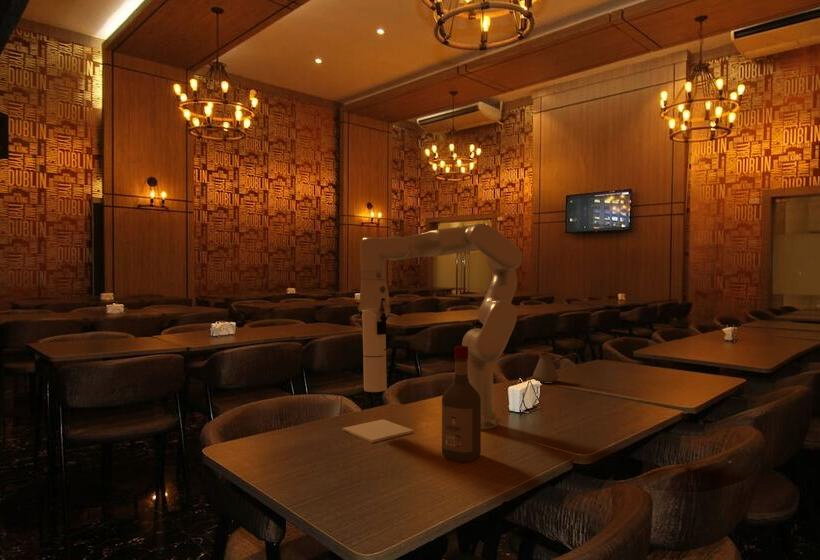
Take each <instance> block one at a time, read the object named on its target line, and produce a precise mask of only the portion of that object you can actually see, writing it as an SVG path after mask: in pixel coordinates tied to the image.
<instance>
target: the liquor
mask: <svg viewBox="0 0 820 560" xmlns="http://www.w3.org/2000/svg"><path fill="white" fill-rule="evenodd" d="M467 359H468V347H467V346H462V345H455V346H454V378H453V382H452V383H451V384H450V386H449V387H448V388H447V389H446V390H445V391H444V393H443V395H442V397H441V453H442V456H443V458H444V459H445V460H447V461H452V462H456V463H461V464H464V463H465V464H467V463H472V462H474V461H475V460H476V459H479V457H480V456H481V454H482V453H481V451H482V449H481V446H482V443H481V442H482V441H481V440H482V439H481V438H482V436H481V435H482V434H481V431H482V430H481V398H480V395H479V393H478V392H477V391H476V390H475V389H474V388H473V386H472V385H471V384H470V383H469V379H468V360H467Z"/></svg>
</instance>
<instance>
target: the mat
mask: <svg viewBox="0 0 820 560" xmlns="http://www.w3.org/2000/svg"><path fill="white" fill-rule="evenodd" d="M342 430H343V432H345V431H346V432H345V433H347V432H348V433H347V434H349V433H350V434H349V435H351V436H355V437H357V438H359V439H361V440H363V441H366V442H367V443H368V442H369V443H371V444H373V443H378V442H382V441H385V440H389V439H393V438H397V437H401V436H407V435H408V434H409V435H410V434H413V433H415V432H414V429H412V428H408V427H406V426H404V425H400V424H398V423H395V422H392V421H389V420H386V419H383V418H382V419H379V420H374V421H369V422H365V423H359V424H355V425H350V426H345V427H342Z"/></svg>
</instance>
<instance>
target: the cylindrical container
mask: <svg viewBox="0 0 820 560" xmlns="http://www.w3.org/2000/svg"><path fill="white" fill-rule="evenodd" d="M379 311H383V310H379ZM380 316H382V314H380ZM362 320H363V332H362V352H363V353H362V354H363V360H362V361H363V365H362V366H363V390H364V391H365V392H366V393H367V392H368V393H378V392H384V391H387V389H388V388H387V387H388V382H387V350H386V349H387V337H386V336H387V333H386V334H382V335H378V334H377V322H379V321H378V319H377V314H376V313H374V311H368V310H362ZM362 320H361V321H362Z"/></svg>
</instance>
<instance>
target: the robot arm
mask: <svg viewBox="0 0 820 560" xmlns="http://www.w3.org/2000/svg"><path fill="white" fill-rule="evenodd" d="M359 242H360V243H359V244H360V245H359V246H360V249H359V250H360V251H359V252H360V290H359V304H358V306H357V310H358V311H359V315H360V319H361V329H362V333H363V320H362V310H368V311H374V313H376V314H377V319H378V321H379V322H377V334H378V335H382V334H386V335H387V321H388V318H389V316H390V313H391V311H392V309H391V306H390V296H389V288H388V283H387V281H386V266H385V265H386V264H385V263H386V262H385V261H386V260H388V261H393V262H395V261H401V260H406V259H413V258H414V259H415V258H423V257H440V256H442V257H443V256H449V255H457V254H461V253H462V254H463V253H470V252H476V251H479V252H481V253H482V254H483V255H485V262H486V265H487V267H488V269H489V271H490V274H491V281H490V285H489V287H488V290H487V292H486V294H485V296H484V299H483V300H482V302H481V305H480V307H479V308H478V312H477V318H478V320H479V322H480V323H481V324H482V327H481V328H478V327H476V328H472V329H470V330H468V331H467V332H466V333H465V334H464V336H463V338H462V342H461V346H467V347H468V359H467V360H468V379H469V383H470V384H471V385H472V386H473V388H474V389H475V390H476V391H477V392H478V393H479V395H480V398H481V431H482V430H483V431H484V430H491V429H494V428H497V427H498V426H499V424H500V423H501V422H502V418H499V417H496V412H495V411H494V365H493V362H495V361H497V360H498V359H499V358H500V357H501V356H502V354H503V353H504V351H505V349H506V346H507V344H508V342H509V339H510V337H511V335H512V333H513V332H514V329H515V326H516V324H517V319H518V318H517V317H518V315H517V310H516V308H515V306H514V304H513V303H512V301H513V298H514V296H515V293H516V290H517V285H518V278H517V272H516V269H518V268H519V267H520V266H521V265H522V262H523V258H524V257H523V254H522V251H521V249H520V247H518V245H516V244H515V243H514V242H512V240H510V239H509V238H507V237H506V236H504V235H503V234H502V233H500V232H499V231H498V230H496V229H495V228H493V227H492V226H490V225H488V224H487V223H482V222H479V223H475V224H469V225H463V226H456V227H448V228H439V229H434V230H429V231H427V232H423V233H420V234H419V233H418V234H411V235H404V236H398V235H396V236H388V237H377V236H375V237H374V236H373V237H372V236H369V237H362V238H361V240H360V241H359ZM379 310H383V311H379ZM380 314H382V316H380Z"/></svg>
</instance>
